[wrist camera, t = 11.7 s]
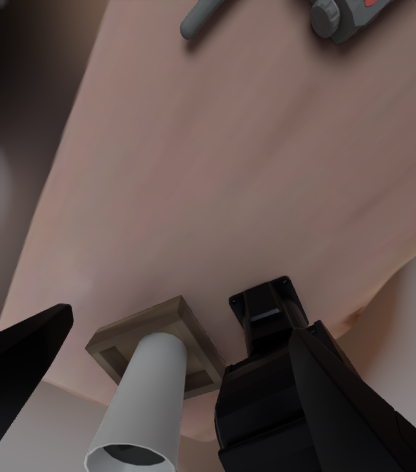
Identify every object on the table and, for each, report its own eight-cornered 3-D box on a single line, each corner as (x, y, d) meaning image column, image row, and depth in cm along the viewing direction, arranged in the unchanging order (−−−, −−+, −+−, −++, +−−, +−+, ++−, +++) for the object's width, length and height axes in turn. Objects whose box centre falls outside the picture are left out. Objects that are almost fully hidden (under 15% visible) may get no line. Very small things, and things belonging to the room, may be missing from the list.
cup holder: (225, 364, 26) (226, 386, 24) (148, 390, 28) (142, 412, 26) (181, 295, 23) (176, 311, 21) (97, 329, 25) (84, 348, 23)
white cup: (124, 358, 26) (72, 476, 16) (147, 319, 24) (102, 430, 14) (175, 380, 27) (153, 502, 17) (201, 344, 24) (192, 463, 15)
